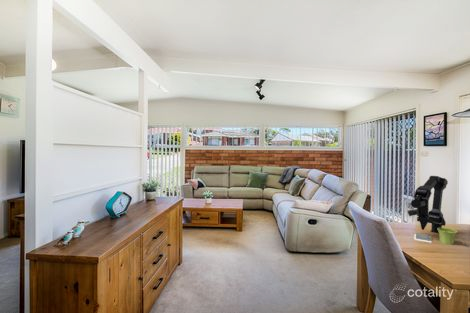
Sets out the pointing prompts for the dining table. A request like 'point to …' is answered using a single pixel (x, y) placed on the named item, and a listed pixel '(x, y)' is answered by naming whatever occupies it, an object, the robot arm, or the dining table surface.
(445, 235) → the plant pot
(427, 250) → the dining table surface
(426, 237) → the slate tile
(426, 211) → the robot arm
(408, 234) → the dining table surface
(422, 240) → the white rectangular board
